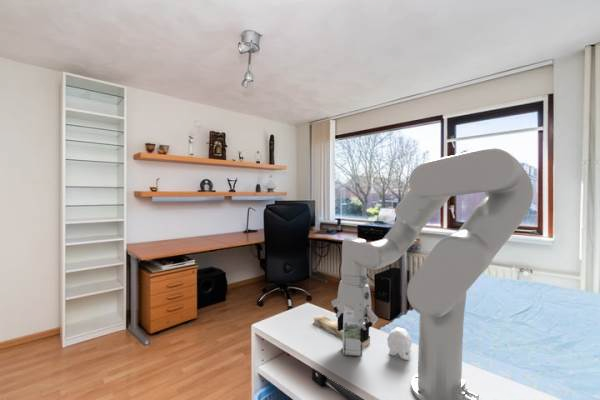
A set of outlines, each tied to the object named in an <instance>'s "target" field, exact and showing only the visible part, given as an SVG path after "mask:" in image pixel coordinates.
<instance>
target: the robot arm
mask: <svg viewBox="0 0 600 400" xmlns="http://www.w3.org/2000/svg"><path fill="white" fill-rule="evenodd" d="M532 182H533V181H532V180H531V178H530V175H529V174H528V172H527V170H526V169H525V168H524V166H523V165H522V164H521V162H520V161H519V160H518V159H517V158H516V157H515V156H513V155H512V154H510V153H509V152H507V151H506V150H503V149H500V148H495V147H488V148H487V147H486V148H480V149H475V150H471V151H466V152H463V153H459V154H455V155H449V156H444V157H441V158H437V159H432V160H428V161H424V162H422V163H420V164H418V165H417V166H415V168H413V170H412V171H411V173H410V175H409V179H408V185H409V188H410V189H409V190H408V191H407V193H406V194H405V195H404V197H403V198H402V199H401V200H400V201H399V203H398V204H397V205H395V208H394V214H395V216H396V219H395V222H394V223H393V225H392V227H391V228H390V229H389V231H388V232H387V233H386V234H385V235H384V237H382V239H378V240H374V241H368V242H367V240H366V239H364V238H361V237H346V238H344V239H343V240H342V244H341V247H342V248H341V249H342V250H341V280H340V281H339V284H338V290H337V297H336V298H335V299H332V300H331V305H332V307H333V311H334V312H335V316H336V318H337V323H338V331H341V330H343V313H344V305H345V306H347V307H349V308H351V309H352V310H353V311H354V317H355V318H356V319H358V320H359V321H360V324H361V326H362V328H361V330H360V341H361V342H362V343H363V342H365V341H366V340H368V338H369V336H370V328H371V327H372V326H374V325H375V324H376V322H377V321H378V320H379V317H378V316H377V315H376V314H375V312H373V310H372V295H371V289H370V285H369V284H370V281H371V279H369V278H368V275H367V273H368V272H367V270H368V269H369V270H379V269H381V268H385V267H386V266H388V265H391V264H393V263H395V262H397V261H398V260H399V259H400V258H402V256H403V255H404V254H405V253H406V252H407V251H408V250H409V249H410V248H411V246H412V245H413V244H414V243H415V242H416V240H417V238H418V237H419V235H420V233H421V232H422V230H423V229H424V227H425V226H426V225H427V224H428V223H429V222H430V221H431V219H432V218H433V217H434V216H435V215H436V214H437V213H438V212H439V211H440V210H441V208H442V207H444V205H445V204H446V203H447V202H448V201H449V199H450V198H451V197H455V196H464V195H471V194H479V193H484V195H483V197H482V199H481V200H480V202H479V203H478V204H476V207H475V208H474V209H473V210H472V211H471V213H470V214H469V216H468V217H467V219H466V220H465V221H464V223H463V224H462V225H461V226H460V227H459V229H458V230H456V231H455V232H454V233H451V234H449V235H446V236H445V237H443V238H442V239H440V240H439V241H438V243H436V244H435V245H434V247H433V248H432V250H431V251H430V252H429V253H428V255H427V256H426V258H425V259H424V260H423V261H422V263H421V264H420V266H418V268H417V269H416V271H415V273H414V274H413V275H412V277H411V278H410V280H409V281H408V284H407V288H406V295H407V300H408V303H409V304H410V306H411V307H412V309H414V311H416V313H417V314H419V325H418V354H417V355H418V357H417V358H418V359H417V361H418V362H417V373H416V374H415V375H413V377H411V379H410V389H411V390H412V393H413V394H414V395H415V397H416V398H417V399H418V400H479V399H480V395H479V394H478V393H476V392H474V391H470V390H469V389H468V387H466V381H467V380H465V379H463V377H462V373H463V370H462V369H463V368H462V367H463V340H464V339H463V337H464V320H465V319H464V318H465V310H466V309H465V308H466V301H467V291H469V289H470V288H471V287H472V285H473V284H475V283H476V281H477V280H478V279H479V277H481V275H482V274H483V273H484V272H485V271H486V270H487V269H488V268H489V267H490V265H491V263H492V261H493V259H494V258H495V256H496V255H497V254H498V252H500V250H501V249H502V247H503V246H504V245H505V244H506V243H507V242H508V241H509V239H510V238H511V237H512V235H513V233H515V232H516V230H518V228H519V226H520V225H521V224H522V222H523V221H524V220H525V218H526V216H527V215H528V213H529V211H530V209H531V207H532V203H533V200H534V199H533V198H534V187H533V183H532ZM369 318H370V320H369Z"/></svg>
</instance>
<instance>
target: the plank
mask: <svg viewBox="0 0 600 400" xmlns="http://www.w3.org/2000/svg"><path fill="white" fill-rule="evenodd" d="M313 323H314V324H316V325H317V326H319V327H321V328H324V329H325V330H327V331H329V332H331V333H333V334H335V335H337V336H339V337H340V338H343V330H341V331H338V321H336V320H334V319H331V318H329V317H326V316H324V315H322V314H320V315H317V316H315V317H313ZM370 344H371V336H370V335H369V338H368V340H366V341H365V342H363V349H364V348H366V347H367V346H369V345H370Z"/></svg>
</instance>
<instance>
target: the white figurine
mask: <svg viewBox="0 0 600 400" xmlns="http://www.w3.org/2000/svg"><path fill="white" fill-rule="evenodd" d="M386 338H387V339H386V340H387V341H386V342H387V347H388V349H389V351H388V354H389V355H390V356H392V357H393V356H396V355H399V357H400V358H401V359H402V360H406V361H409V360H410V356H409V355H410V353H411V347H412V339H411V336H410V334H409V333H408V331H407V330H406V329H405V328H403V327H399V326H397V327H395V328H393V329H391V331H389V333H388V336H387V337H386ZM407 354H409V355H407Z"/></svg>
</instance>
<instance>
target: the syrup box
mask: <svg viewBox="0 0 600 400" xmlns="http://www.w3.org/2000/svg"><path fill="white" fill-rule="evenodd" d="M361 328H362V326H361V324H360V321H359V320H358V319H356V318H355V317H354V311H353V310H352V309H351V308H349V307H347V306H345V305H344V313H343V337H342V352H343V353H342V354H343V356H352V357H355V356H356V357H363V349H364V348H363V343H362V342H361V341H360V330H361Z"/></svg>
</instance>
